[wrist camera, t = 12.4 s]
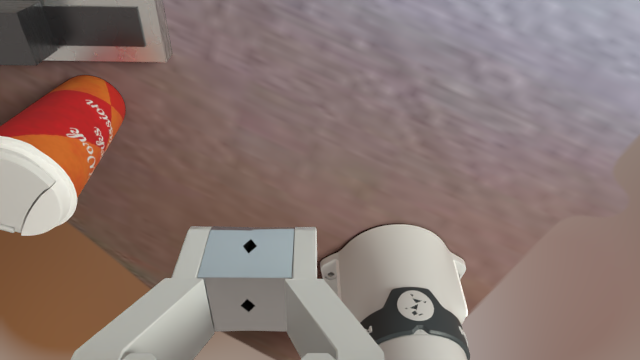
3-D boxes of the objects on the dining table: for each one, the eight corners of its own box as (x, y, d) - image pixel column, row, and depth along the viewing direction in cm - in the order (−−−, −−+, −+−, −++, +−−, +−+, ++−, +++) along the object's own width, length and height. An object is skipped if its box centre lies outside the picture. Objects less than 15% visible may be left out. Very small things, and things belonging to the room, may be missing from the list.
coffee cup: (129, 150, 45) (61, 254, 33) (45, 121, 43) (-59, 220, 31) (146, 83, 41) (75, 173, 29) (54, 46, 39) (-65, 128, 27)
